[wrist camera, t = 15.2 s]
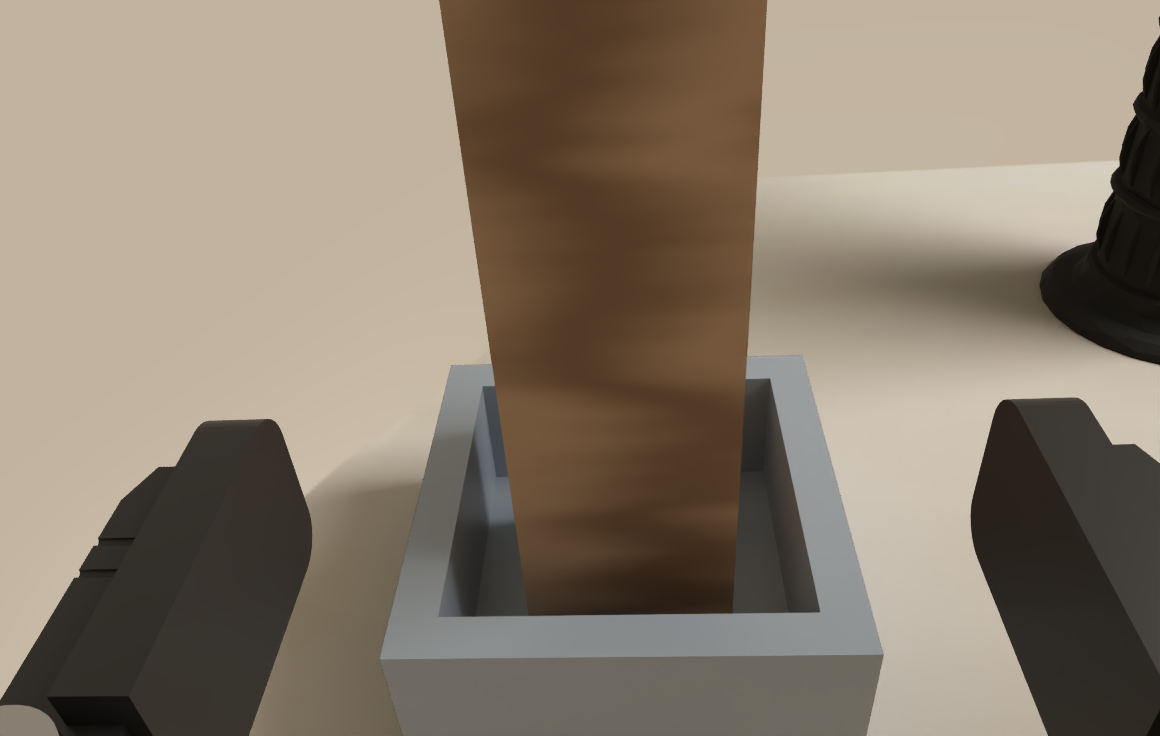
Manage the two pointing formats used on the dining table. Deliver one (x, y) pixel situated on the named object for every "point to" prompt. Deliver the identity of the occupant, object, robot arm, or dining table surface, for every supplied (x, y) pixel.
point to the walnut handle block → (615, 283)
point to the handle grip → (1120, 246)
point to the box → (634, 642)
